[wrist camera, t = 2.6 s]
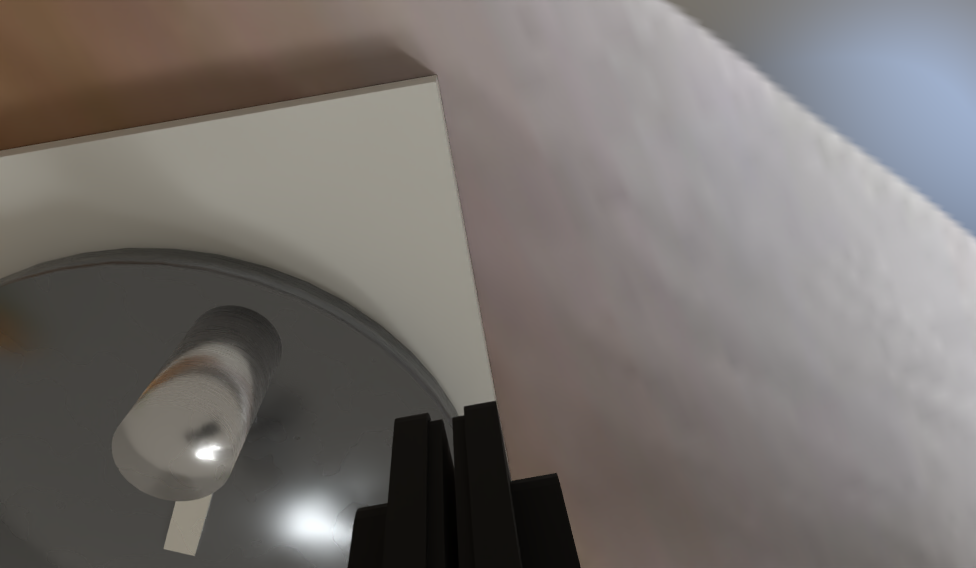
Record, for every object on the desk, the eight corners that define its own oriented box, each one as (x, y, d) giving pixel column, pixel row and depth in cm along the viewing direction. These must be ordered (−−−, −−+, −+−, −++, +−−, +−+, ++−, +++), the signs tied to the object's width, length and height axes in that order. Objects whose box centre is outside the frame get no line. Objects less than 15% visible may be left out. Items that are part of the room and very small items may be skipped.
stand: (436, 74, 20) (433, 101, 16) (540, 638, 30) (557, 756, 25) (-288, 200, 21) (-497, 262, 16) (47, 718, 30) (-24, 849, 26)
